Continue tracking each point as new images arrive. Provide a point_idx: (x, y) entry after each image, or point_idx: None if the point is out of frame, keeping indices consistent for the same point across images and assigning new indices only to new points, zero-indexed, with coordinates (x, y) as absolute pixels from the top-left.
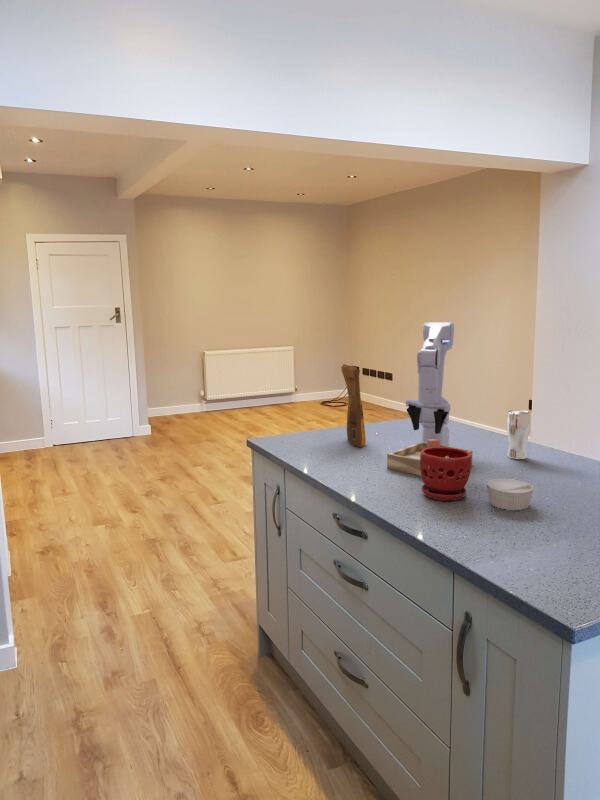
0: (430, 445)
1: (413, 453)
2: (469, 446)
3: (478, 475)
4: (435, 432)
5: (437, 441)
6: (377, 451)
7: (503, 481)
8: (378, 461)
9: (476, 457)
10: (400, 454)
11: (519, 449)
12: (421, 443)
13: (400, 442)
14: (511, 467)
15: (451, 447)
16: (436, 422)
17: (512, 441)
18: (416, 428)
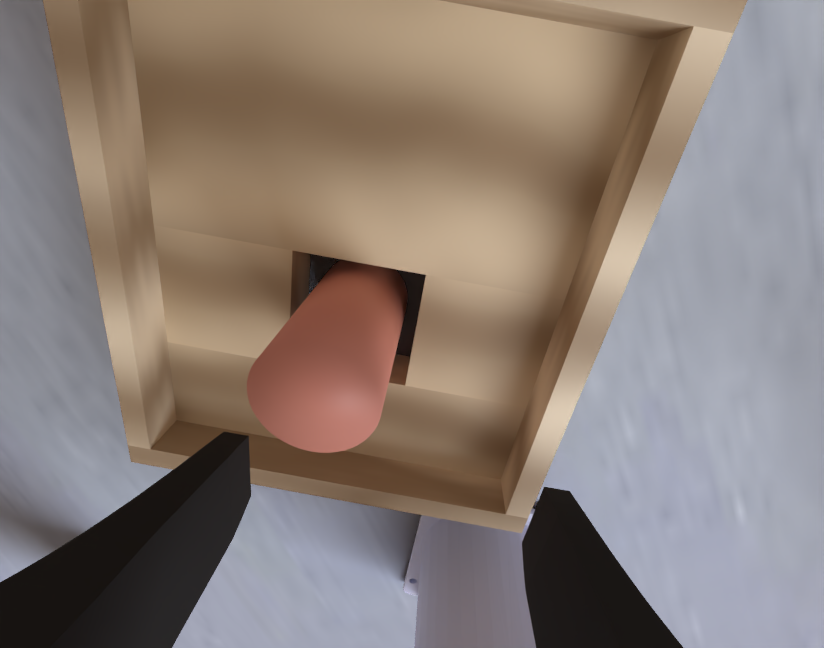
0: (326, 322)
1: (525, 355)
2: (355, 640)
3: (30, 220)
4: (238, 443)
5: (257, 375)
6: (816, 432)
7: None
8: (779, 200)
9: (244, 519)
10: (606, 209)
11: None
12: (511, 499)
13: (692, 614)
14: (25, 437)
15: (283, 482)
16: (95, 561)
17: None
18: (541, 522)
